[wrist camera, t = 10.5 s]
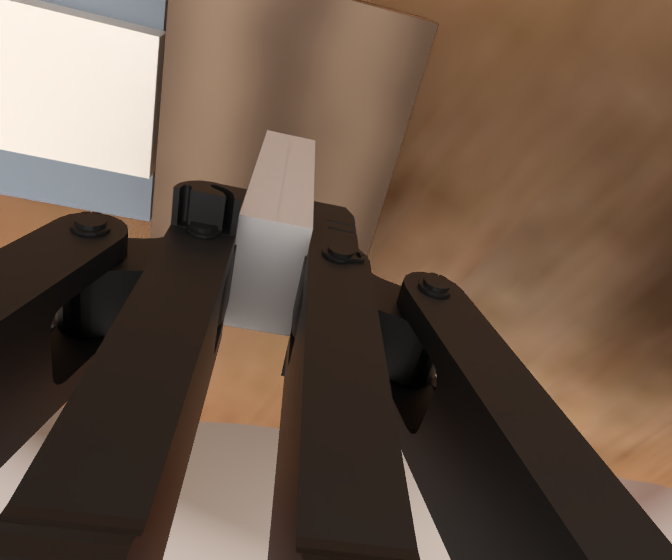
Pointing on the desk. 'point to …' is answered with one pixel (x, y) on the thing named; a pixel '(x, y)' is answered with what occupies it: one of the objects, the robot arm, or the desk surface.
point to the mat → (75, 180)
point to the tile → (79, 87)
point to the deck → (288, 95)
